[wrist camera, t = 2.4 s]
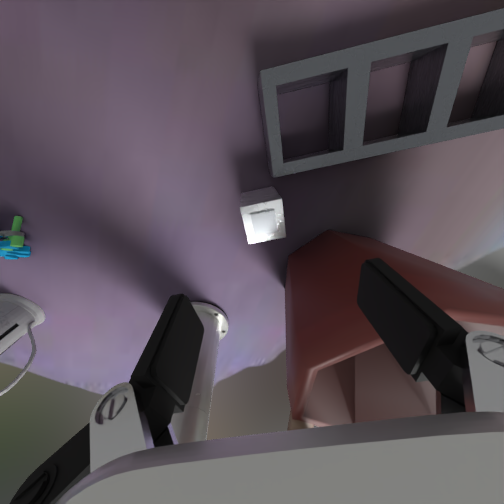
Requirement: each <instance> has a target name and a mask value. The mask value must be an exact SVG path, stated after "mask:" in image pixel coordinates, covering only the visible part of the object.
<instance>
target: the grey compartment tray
mask: <svg viewBox="0 0 504 504" xmlns="http://www.w3.org/2000/svg"><path fill="white" fill-rule="evenodd" d="M494 41H498V42H497V45H496V47H495V50H494V53H493V56H492V59H491V62H490V65H489V68H488V71H487V73H486V76H485V79H484V82H483V85H482V88H481V91H480V94H479V97H478V99H477V102H476V105H475V108H474V111H473V114H472V117H471V118H470V119H465V120H461V121H456V122H451V123H448V121H449V117H450V114H451V111H452V107H453V104H454V100H455V97H456V94H457V90H458V87H459V83H460V80H461V77H462V73H463V70H464V67H465V63H466V60H467V56H468V53H469V50H470V47H474V46H478V45H482V44H486V43H490V42H494ZM409 62H411V66H410V71H409V77H408V82H407V87H406V93H405V98H404V104H403V109H402V114H401V120H400V125H399V131H398V134H397V135H393V136H388V137H384V138H379V139H375V140H370V141H365V142H363V136H364V126H365V116H366V107H367V97H368V87H369V78H370V72H372V71H376V70H380V69H384V68H388V67H392V66H396V65H400V64H405V63H409ZM327 82H330V90H329V142H328V150H325V151H320V152H316V153H311V154H307V155H302V156H298V157H293V158H289V159H284V160H283V154H282V144H281V133H280V123H279V113H278V102H277V95H279V94H283V93H287V92H291V91H295V90H299V89H303V88H307V87H311V86H315V85H319V84H323V83H327ZM257 85H258V93H259V100H260V107H261V115H262V122H263V130H264V137H265V144H266V152H267V159H268V167H269V173H270V174H271V175H272V177H273V178H274V177H279V176H284V175H288V174H293V173H298V172H302V171H307V170H312V169H316V168H321V167H326V166H330V165H335V164H340V163H344V162H349V161H354V160H358V159H363V158H368V157H372V156H377V155H381V154H386V153H391V152H395V151H400V150H405V149H409V148H414V147H419V146H423V145H428V144H433V143H437V142H442V141H447V140H451V139H456V138H461V137H465V136H470V135H475V134H479V133H484V132H489V131H493V130H498V129H503V128H504V8H502V9H498V10H495V11H491V12H487V13H483V14H479V15H475V16H471V17H467V18H463V19H460V20H456V21H452V22H448V23H444V24H440V25H436V26H432V27H428V28H425V29H421V30H417V31H413V32H409V33H405V34H401V35H397V36H393V37H389V38H386V39H382V40H378V41H374V42H370V43H366V44H362V45H358V46H354V47H351V48H347V49H343V50H339V51H335V52H331V53H327V54H323V55H319V56H316V57H312V58H308V59H304V60H300V61H296V62H292V63H288V64H284V65H281V66H277V67H273V68H269V69H265V70H261V71H260V74H259V79H258V84H257Z"/></svg>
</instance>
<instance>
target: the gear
mask: <svg viewBox="0 0 504 504" xmlns="http://www.w3.org/2000/svg"><path fill="white" fill-rule="evenodd" d="M22 219H23V217H20V216H14V220H13V225H12V229H11V230H8V231H0V239H4V240H3V241H0V256H3V257H4V258H5V259H18V257H30V255H31V251H30V247H29V246H23V243H24V238H25V237H24V233H23V232H20V229H21V224H22ZM6 238H8V239H6Z"/></svg>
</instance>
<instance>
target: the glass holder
mask: <svg viewBox="0 0 504 504" xmlns="http://www.w3.org/2000/svg"><path fill="white" fill-rule="evenodd" d="M44 320H45V314H44V312H43V310H42V309H41V308H40V307H39V306H38V305H36V304H35V303H33V302H32V301H30V300H28V299H26V298H23V297H21V296H18V295H13V294H7V293H1V294H0V355H1V354H2V353H3V352H4V351H6V350H7V349H8V348H9V347H10V346H11V345H13V344H14V343H15V342H16V341H17V340H19V339H20V338H21V337H22V336H23V335H24V334H26V333H27V332H28V334H29V337H30V339H31V343H32V353H31V356H30V359H29V361H28V363H27V365H26V366H25V368H24V369H23V371H22V372H21V373H20V374H19V375H18V376H17V377H16V379H15V380H14V381H13V382H12V383H10V384H9V385H8V386H7V387H6V388H5V389H3V390H2V391H0V396H1V395H2V394H4V393H5V392H7V391H8V390H9V389H11V388H12V387H13V386H14V385H15V384H16V383H17V382H18V381H19V379H21V377H22V376H23V375H24V374H25V373H26V371H27V370H28V368H29V367H30V365H31V364H32V361H33V359H34V357H35V354H36V351H37V350H36V345H35V340H34V337H33V334H32V332H31V328H33V327H34V326H36V325H39V324H41V323H42V322H44Z"/></svg>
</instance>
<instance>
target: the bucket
mask: <svg viewBox="0 0 504 504" xmlns="http://www.w3.org/2000/svg"><path fill="white" fill-rule="evenodd" d="M373 258H380V259H382V260H383V261H384V262H385V263H387V264H388V265H389V266H390V267H391V268H393V269H394V270H395V271H396V272H397V273H399V274H400V275H401V276H402V277H403V278H405V279H406V280H407V281H408V282H409V283H411V284H412V285H413V286H414V287H415V288H417V289H418V290H419V291H420V292H421V293H423V294H424V295H425V296H426V297H427V298H429V299H430V300H431V301H432V302H433V303H434V304H436V305H437V306H438V307H439V308H440V309H442V310H443V311H444V312H445V313H446V314H448V315H449V316H450V317H451V318H452V319H454V320H455V321H456V322H457V323H458V324H460V325H461V326H462V327H463V328H464V329H465V330H466V331H467V332H468V333H470V332H473V331H488V332H492V333H496V334H499V335H502V336H504V289H502V288H500V287H497V286H494V285H492V284H489V283H487V282H484V281H482V280H479V279H476V278H473V277H471V276H468V275H466V274H463V273H461V272H458V271H455V270H453V269H450V268H448V267H445V266H442V265H440V264H437V263H434V262H432V261H429V260H427V259H424V258H421V257H419V256H416V255H414V254H411V253H408V252H406V251H403V250H400V249H398V248H395V247H393V246H390V245H387V244H385V243H382V242H380V241H377V240H374V239H372V238H369V237H364V236H358V235H353V234H348V233H343V232H337V231H332V230H326V231H325V232H323V233H322V234H320V235H319V236H317V237H316V238H314V239H313V240H311V241H310V242H308V243H307V244H305V245H304V246H302V247H301V248H299V249H298V250H296V251H295V252H293V253H292V254H290V255H289V256H288V264H287V274H286V284H285V314H286V360H287V361H286V364H287V390H288V395H289V401H290V407H291V411H290V417H289V422H288V430H287V431H289V430H298V429H307V428H313V427H314V425H316V426H319V427H324V426H333V425H342V424H351V423H360V422H369V421H378V420H387V419H396V418H406V417H415V416H426V415H436V389H435V388H434V387H433V386H432V384H431V383H430V382H429V381H422V382H415V380H414V379H413V378H412V376H411V375H408V374H406V373H405V372H404V370H403V369H402V368H401V366H400V365H399V363H398V362H397V361H396V359H395V358H394V356H393V355H392V353H391V352H390V351H389V349H388V348H387V346H386V345H385V343H384V342H383V341H382V339H381V338H380V336H379V335H378V333H377V332H376V331H375V329H374V328H373V326H372V325H371V324H370V322H369V321H368V319H367V318H366V316H365V315H364V314H363V312H362V311H361V309H360V308H359V306H358V304H357V294H358V287H359V279H360V271H361V265H362V263H364V261H365V260H367V259H373Z"/></svg>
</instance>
